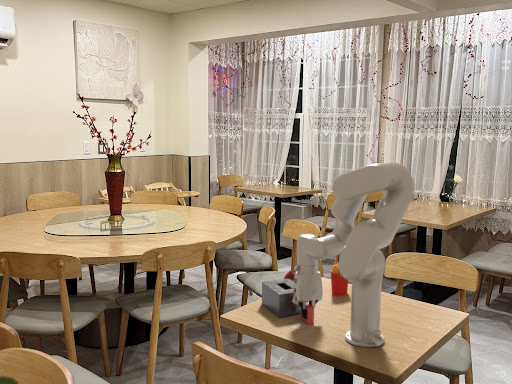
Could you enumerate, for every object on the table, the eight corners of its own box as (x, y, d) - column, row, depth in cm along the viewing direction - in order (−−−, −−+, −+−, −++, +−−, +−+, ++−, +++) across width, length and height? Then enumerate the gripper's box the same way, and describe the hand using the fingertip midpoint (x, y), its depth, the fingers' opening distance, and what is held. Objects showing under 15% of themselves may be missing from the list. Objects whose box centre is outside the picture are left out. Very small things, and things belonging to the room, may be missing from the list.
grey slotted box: (307, 313, 188) (308, 290, 186) (279, 317, 183) (279, 294, 182) (288, 299, 202) (288, 278, 201) (261, 303, 198) (262, 282, 196)
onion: (298, 286, 220) (298, 268, 219) (295, 290, 215) (296, 272, 214) (285, 285, 222) (285, 267, 221) (282, 288, 216) (282, 271, 215)
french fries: (335, 296, 206) (335, 266, 205) (328, 293, 210) (329, 264, 208) (351, 293, 211) (352, 263, 210) (344, 290, 215) (345, 261, 213)
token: (313, 323, 178) (314, 307, 177) (308, 324, 177) (309, 308, 176) (305, 317, 183) (306, 301, 182) (300, 318, 182) (301, 302, 182)
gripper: (292, 273, 171) (293, 324, 174) (331, 268, 178) (331, 318, 180) (283, 268, 178) (283, 317, 180) (321, 263, 184) (320, 311, 186)
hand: (307, 317), depth 180 cm, fingers closed on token, 1 cm apart
